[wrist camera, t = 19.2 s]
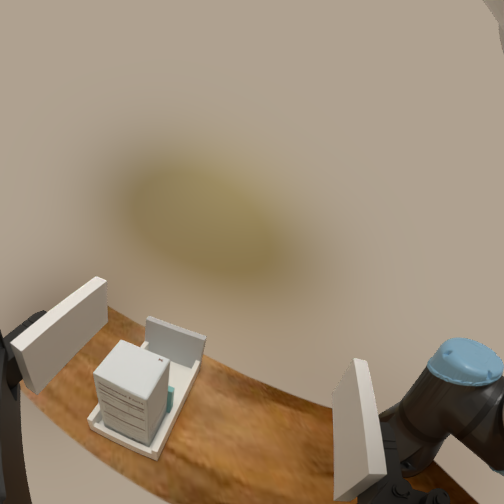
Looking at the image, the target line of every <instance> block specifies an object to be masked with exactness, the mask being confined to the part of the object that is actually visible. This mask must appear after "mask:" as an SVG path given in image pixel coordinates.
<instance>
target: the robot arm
mask: <svg viewBox="0 0 504 504" xmlns="http://www.w3.org/2000/svg"><path fill="white" fill-rule="evenodd" d="M483 1H484V2H485V4H486V5H487V7H488V8H489V9H490V11H491V12H492V14H493V15H494V17H495V18H496V20H497V21H498V22H499V34H500V41H501V45H502V50H503V53H504V0H483ZM107 322H108V313H107V280H104V279H101V278H99V277H97V276H96V277H94V278H93V279H92V280H90V281H89V282H87V283H86V284H85V285H83V286H82V287H80V288H79V289H78V290H76V291H75V292H74V293H72V294H71V295H70V296H68V297H67V298H66V299H64V300H63V301H62V302H60V303H59V304H58V305H56V306H55V307H54V308H53V309H51V310H50V311H49V312H46V311H44V310H43V311H40V312H37V313H35V314H33V315H32V316H31V317H29V318H28V320H26V321H24V322H23V323H22V325H19V326H18V327H17V328H15V329H14V330H13V331H12V332H10V333H9V334H8V335H7V336H5V337H4V338H3V337H2V334H1V330H0V504H32V502H31V497H30V492H29V487H28V482H27V476H26V469H25V462H24V454H23V445H22V434H21V415H20V414H21V413H20V383H19V382H20V381H21V380H22V379H23V380H24V383H25V385H26V387H27V388H28V389H30V390H31V391H32V392H34V393H35V394H36V395H38V394H39V393H40V392H41V391H42V390H43V388H44V387H45V386H46V385H47V384H48V383H49V382H50V381H51V380H52V379H53V378H54V377H55V375H56V374H57V373H58V372H59V371H60V370H61V369H62V368H63V367H64V366H65V365H66V364H67V363H68V362H69V361H70V360H71V359H72V358H73V356H74V355H75V354H76V353H77V352H78V351H79V350H80V349H81V348H82V347H83V346H84V345H85V344H86V343H87V342H88V341H89V340H90V339H91V338H92V337H93V336H94V335H95V334H96V333H97V332H98V331H99V330H100V329H101V328H102V327H103V326H104V325H105V324H106V323H107ZM503 368H504V365H503V362H502V360H501V359H500V357H498V356H496V353H495V352H494V351H492V350H491V349H490V348H488V347H487V346H485V345H483V344H481V343H479V342H477V341H474V340H470V339H467V338H452V339H449V340H447V341H445V342H444V343H443V344H442V345H441V346H440V348H439V349H438V350H437V352H436V353H435V354H434V356H433V357H431V358H430V360H429V361H428V364H427V366H426V368H425V369H424V371H423V372H422V374H421V375H420V376H419V378H418V379H417V380H416V382H415V383H414V384H413V386H412V387H411V388H410V390H409V391H408V392H407V394H406V395H405V396H404V398H403V399H402V400H401V401H400V402H399V403H397V404H395V405H394V406H392V407H390V408H389V409H387V410H386V411H384V412H382V413H381V414H379V415H378V412H377V407H376V401H375V396H374V391H373V387H372V382H371V377H370V373H369V368H368V364H367V361H365V360H361V359H356V358H353V360H352V362H351V363H350V365H349V367H348V368H347V370H346V372H345V373H344V375H343V377H342V378H341V380H340V382H339V383H338V385H337V386H336V388H335V390H334V391H333V393H332V406H333V433H334V501H351V500H353V499H354V498H356V497H357V496H358V503H357V504H450V498H449V495H448V493H447V492H446V491H445V490H443V489H440V488H436V489H433V490H432V491H430V492H429V493H425V492H422V491H418V490H414V489H412V487H411V485H410V483H409V482H408V481H407V480H405V479H403V478H402V477H411V476H414V475H417V474H419V473H420V472H421V471H423V470H424V469H425V468H426V467H428V466H429V465H430V463H431V462H432V461H433V459H434V458H435V456H436V454H437V453H438V451H439V449H440V447H441V445H442V444H443V441H444V440H445V439H446V438H447V437H448V436H449V435H450V434H452V435H453V436H454V437H455V438H457V439H458V440H459V441H460V442H462V443H463V444H464V445H465V446H466V447H468V448H469V449H470V450H471V451H472V452H473V453H475V454H476V455H477V456H478V457H480V458H481V459H482V460H483V461H484V462H485V463H487V464H488V465H489V467H490V468H491V469H492V470H493V471H495V472H497V473H499V474H501V475H502V476H504V377H503V376H502V373H503Z"/></svg>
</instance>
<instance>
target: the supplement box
mask: <svg viewBox="0 0 504 504" xmlns="http://www.w3.org/2000/svg"><path fill="white" fill-rule="evenodd" d="M169 371H170V359H167V358H165V357H163V356H160V355H158V354H155V353H152V352H150V351H148V350H145V349H143V348H140V347H138V346H135V345H133V344H131V343H128V342H126V341H123V340H120V341H119V342H118V344H117V345H116V346H115V347H114V348H113V350H112V351H111V352H110V353H109V354H108V355H107V357H106V358H105V359H104V360H103V361H102V363H101V364H100V365H99V366H98V367H97V369H96V370H95V371H94V372H93V375H94V381H95V386H96V391H97V396H98V401H99V405H100V410H101V414H102V418H103V422H104V426H105V427H106V428H108V429H110V430H112V431H114V432H116V433H118V434H120V435H122V436H124V437H126V438H128V439H131V440H133V441H135V442H137V443H140V444H142V445H144V446H147V447H150V445H151V444H152V442H153V440H154V438H155V436H156V434H157V432H158V430H159V428H160V426H161V424H162V422H163V420H164V417H165V415H166V410H167V396H168V383H169Z"/></svg>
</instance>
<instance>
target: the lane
mask: <svg viewBox="0 0 504 504" xmlns="http://www.w3.org/2000/svg"><path fill="white" fill-rule="evenodd" d="M206 337H207V336H204V335H201V334H198V333H196V332H192V331H189V330H187V329H184V328H181V327H178V326H175V325H173V324H170V323H167V322H165V321H162V320H159V319H157V318H154V317H152V316H148V318H147V319H146V330H145V342H144V343H143V344H142V345H141V347H140V348H143V349H145V350H148V351H150V352H152V353H155V354H158V355H160V356H163V357H165V358H167V359H170V371H169V383H168V386H171V387H173V388H175V390H174V399H173V407H172V409H171V411H170V413H167V412H166V415H165V417H164V420H163V422H162V424H161V426H160V428H159V430H158V432H157V434H156V436H155V438H154V440H153V442H152V444H151V445H150V447H147V446H144V445H142V444H140V443H137V442H135V441H133V440H131V439H128V438H126V437H124V436H122V435H120V434H118V433H116V432H114V431H112V430H110V429H108V428H106V427H105V426H104V422H103V418H102V414H101V410H100V405H99V403H98V404H97V406H96V407H95V408H94V410H93V411H92V413H91V414H90V415H89V417H88V418H87V420H88V423H89V426H90V429H91V430H93V431H95V432H97V433H98V434H100V435H102V436H104V437H106V438H108V439H110V440H112V441H114V442H116V443H118V444H120V445H122V446H124V447H126V448H128V449H130V450H133V451H135V452H137V453H139V454H141V455H144V456H146V457H149V458H151V459H153V460H156V461H157V460H158V458H159V456H160V454H161V452H162V450H163V447H164V445H165V443H166V441H167V439H168V437H169V435H170V432H171V430H172V428H173V426H174V424H175V422H176V419H177V417H178V415H179V413H180V411H181V409H182V407H183V404H184V402H185V400H186V398H187V396H188V394H189V391H190V389H191V387H192V385H193V383H194V381H195V379H196V376H197V374H198V372H199V370H200V367H201V362H202V357H203V352H204V347H205V342H206Z"/></svg>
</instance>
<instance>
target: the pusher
mask: <svg viewBox="0 0 504 504" xmlns="http://www.w3.org/2000/svg"><path fill="white" fill-rule="evenodd" d="M174 390H175V388H173V387H171V386H168V396H167V410H166V412H167V413H170V411H171V409H172V407H173V399H174Z"/></svg>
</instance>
